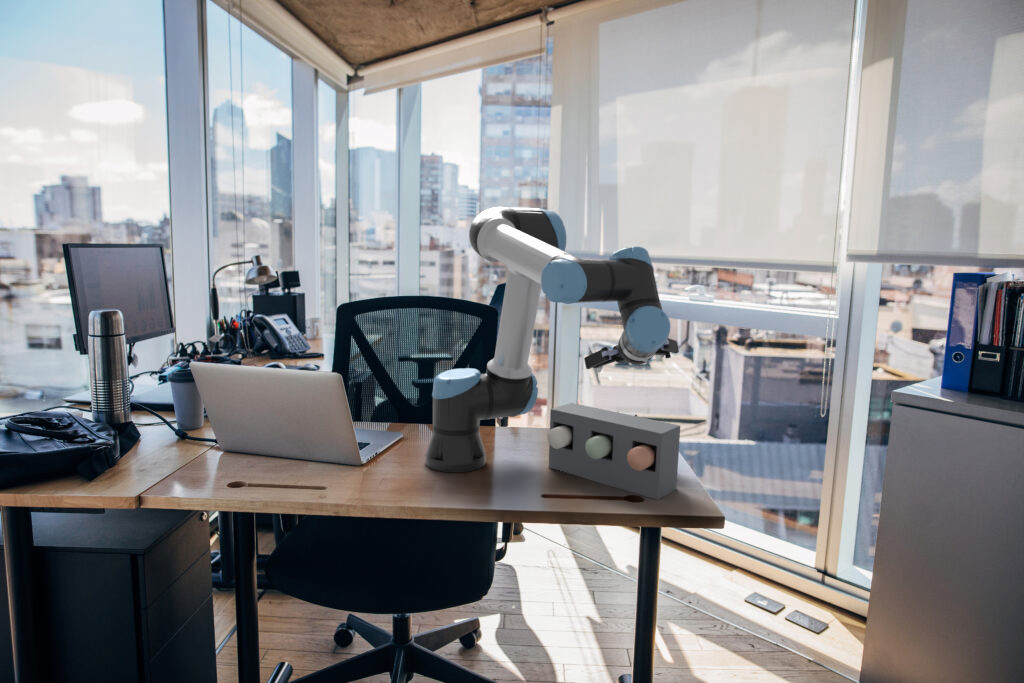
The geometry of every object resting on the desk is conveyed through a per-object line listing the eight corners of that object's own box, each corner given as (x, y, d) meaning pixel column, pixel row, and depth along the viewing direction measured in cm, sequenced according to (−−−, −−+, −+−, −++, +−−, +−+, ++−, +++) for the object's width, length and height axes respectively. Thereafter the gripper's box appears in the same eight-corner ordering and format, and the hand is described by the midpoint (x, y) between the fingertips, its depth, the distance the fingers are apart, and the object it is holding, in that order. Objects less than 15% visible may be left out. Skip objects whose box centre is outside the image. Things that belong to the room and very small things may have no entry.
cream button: (563, 450, 155) (564, 430, 154) (547, 446, 158) (547, 426, 157) (573, 447, 158) (574, 427, 157) (556, 442, 161) (557, 423, 160)
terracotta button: (646, 473, 141) (648, 450, 140) (626, 467, 144) (627, 445, 143) (655, 468, 144) (656, 446, 143) (635, 463, 147) (636, 442, 147)
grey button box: (657, 499, 143) (661, 433, 141) (548, 467, 162) (550, 409, 160) (676, 488, 150) (680, 425, 148) (569, 459, 169) (571, 402, 167)
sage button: (603, 461, 148) (604, 440, 147) (584, 456, 151) (585, 435, 150) (612, 457, 151) (613, 436, 150) (594, 452, 154) (595, 432, 154)
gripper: (580, 372, 128) (576, 386, 148) (706, 350, 127) (685, 367, 148) (572, 335, 129) (570, 354, 150) (697, 313, 128) (678, 335, 149)
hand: (627, 361), depth 149 cm, fingers open, 13 cm apart
